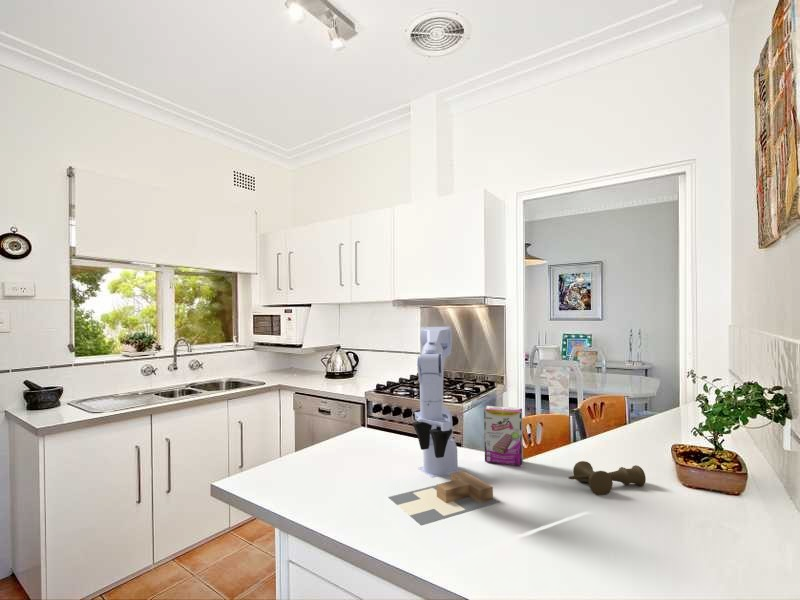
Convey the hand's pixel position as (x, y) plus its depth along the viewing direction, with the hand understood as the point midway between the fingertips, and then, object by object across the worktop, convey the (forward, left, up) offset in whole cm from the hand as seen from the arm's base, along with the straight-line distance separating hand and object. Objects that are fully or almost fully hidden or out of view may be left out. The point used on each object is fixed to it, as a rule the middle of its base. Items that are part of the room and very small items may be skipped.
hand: (432, 452), depth 109 cm
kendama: (-40, +20, -10) cm, 46 cm away
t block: (-4, +7, -9) cm, 12 cm away
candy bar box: (-30, -6, -10) cm, 32 cm away
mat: (+1, +7, -10) cm, 12 cm away
